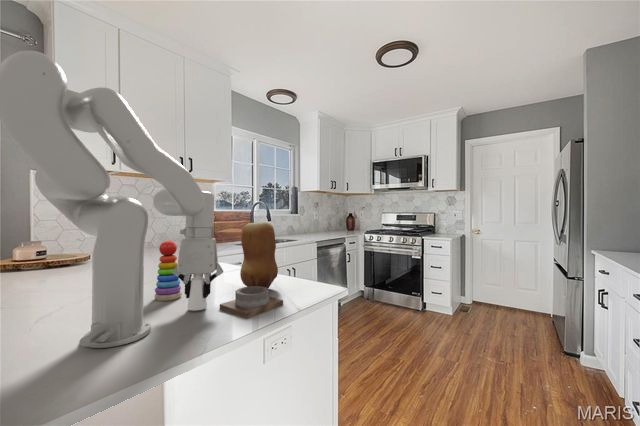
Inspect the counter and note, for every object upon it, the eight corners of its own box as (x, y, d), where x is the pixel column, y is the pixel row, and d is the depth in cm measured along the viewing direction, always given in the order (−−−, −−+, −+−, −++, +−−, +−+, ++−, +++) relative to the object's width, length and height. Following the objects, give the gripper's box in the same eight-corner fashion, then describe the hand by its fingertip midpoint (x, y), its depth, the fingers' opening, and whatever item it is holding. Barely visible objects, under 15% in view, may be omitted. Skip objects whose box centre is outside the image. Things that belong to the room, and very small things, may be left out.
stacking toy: (186, 295, 97) (187, 240, 97) (172, 302, 89) (172, 242, 89) (164, 294, 98) (165, 239, 98) (148, 301, 90) (149, 241, 90)
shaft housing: (247, 318, 76) (247, 299, 76) (219, 309, 83) (219, 292, 83) (282, 304, 88) (283, 288, 88) (256, 297, 95) (256, 282, 95)
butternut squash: (239, 287, 108) (240, 221, 108) (275, 285, 112) (275, 221, 112) (240, 298, 94) (241, 222, 94) (281, 294, 98) (281, 222, 98)
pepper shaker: (201, 303, 86) (202, 267, 87) (210, 307, 83) (212, 269, 83) (183, 307, 82) (184, 269, 83) (192, 312, 79) (193, 272, 79)
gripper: (163, 234, 78) (161, 301, 78) (226, 234, 81) (224, 300, 80) (173, 232, 86) (171, 293, 85) (231, 233, 88) (229, 293, 88)
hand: (197, 296), depth 83 cm, fingers closed on pepper shaker, 4 cm apart
